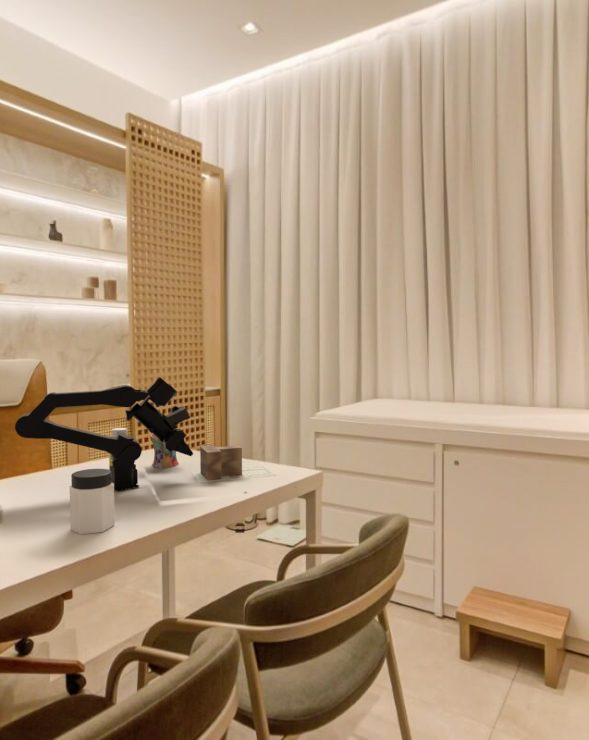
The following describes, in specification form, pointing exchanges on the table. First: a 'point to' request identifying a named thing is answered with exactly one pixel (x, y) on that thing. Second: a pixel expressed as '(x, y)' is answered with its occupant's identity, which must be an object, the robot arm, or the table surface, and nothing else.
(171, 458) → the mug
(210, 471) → the t block
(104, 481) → the jar
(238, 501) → the table surface
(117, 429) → the supplement bottle
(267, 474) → the board
